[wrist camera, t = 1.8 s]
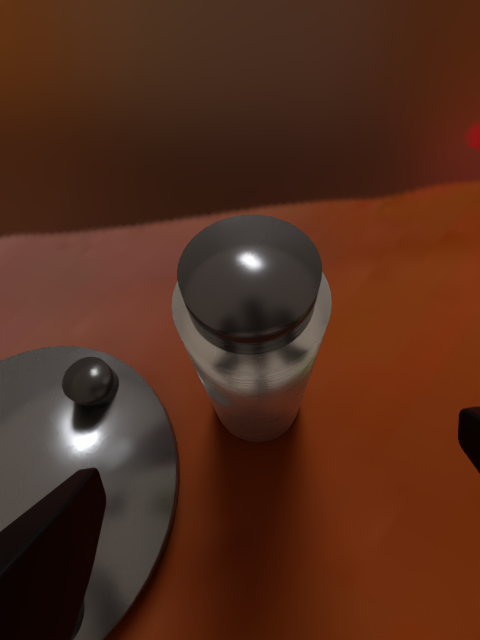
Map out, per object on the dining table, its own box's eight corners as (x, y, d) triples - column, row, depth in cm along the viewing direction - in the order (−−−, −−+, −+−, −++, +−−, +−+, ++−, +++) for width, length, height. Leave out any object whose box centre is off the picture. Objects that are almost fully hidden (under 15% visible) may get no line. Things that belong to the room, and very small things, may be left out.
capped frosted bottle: (276, 459, 19) (295, 383, 8) (199, 416, 20) (123, 301, 9) (312, 380, 21) (366, 234, 10) (239, 346, 22) (216, 185, 11)
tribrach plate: (31, 801, 13) (-15, 859, 11) (-191, 558, 18) (-255, 564, 15) (233, 424, 20) (229, 413, 17) (34, 316, 24) (12, 297, 22)
